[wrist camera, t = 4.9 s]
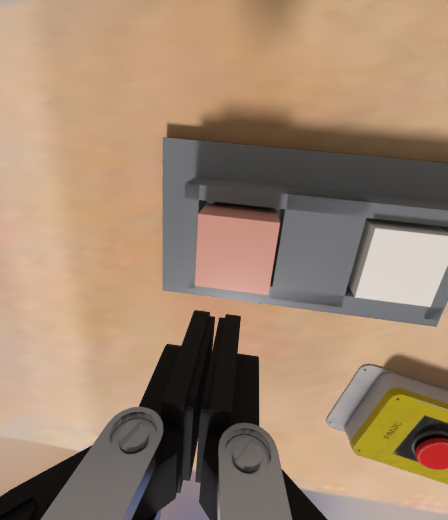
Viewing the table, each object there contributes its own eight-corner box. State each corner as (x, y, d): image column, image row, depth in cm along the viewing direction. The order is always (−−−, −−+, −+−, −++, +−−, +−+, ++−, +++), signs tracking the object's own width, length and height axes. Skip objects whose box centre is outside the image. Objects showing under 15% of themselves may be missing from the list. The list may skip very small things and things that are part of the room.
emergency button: (474, 506, 29) (330, 458, 29) (448, 461, 33) (321, 419, 33) (542, 447, 25) (377, 393, 25) (504, 405, 29) (361, 357, 29)
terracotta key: (277, 210, 21) (280, 223, 18) (267, 274, 23) (268, 295, 20) (207, 203, 21) (198, 213, 18) (203, 266, 23) (194, 285, 20)
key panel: (495, 167, 21) (551, 175, 17) (430, 320, 26) (461, 354, 22) (166, 137, 23) (145, 137, 19) (166, 285, 28) (149, 310, 24)
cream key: (431, 223, 21) (459, 237, 18) (408, 285, 23) (430, 306, 20) (359, 215, 21) (375, 228, 18) (343, 277, 23) (354, 297, 20)
